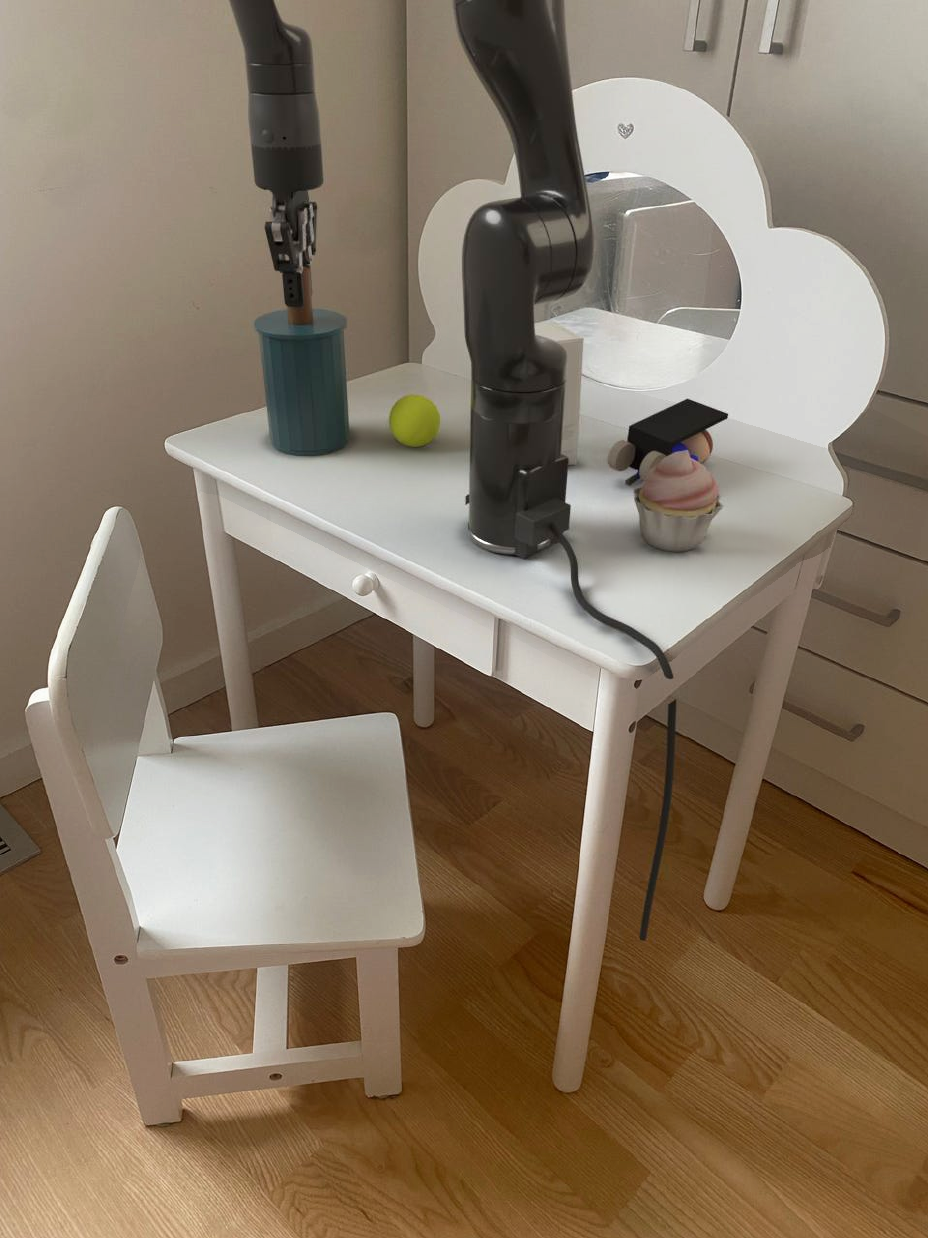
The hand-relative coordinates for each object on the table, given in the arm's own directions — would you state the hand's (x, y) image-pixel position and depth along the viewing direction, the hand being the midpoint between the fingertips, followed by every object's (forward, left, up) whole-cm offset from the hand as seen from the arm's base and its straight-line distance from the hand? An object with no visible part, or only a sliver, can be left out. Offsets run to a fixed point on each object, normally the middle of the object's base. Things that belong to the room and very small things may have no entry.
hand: (299, 300), depth 113 cm
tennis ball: (-10, -9, -14) cm, 20 cm away
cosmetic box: (-23, -18, -18) cm, 34 cm away
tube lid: (0, 0, -3) cm, 3 cm away
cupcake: (-47, -13, -18) cm, 52 cm away
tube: (0, 0, -17) cm, 17 cm away
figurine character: (-37, -25, -18) cm, 48 cm away
